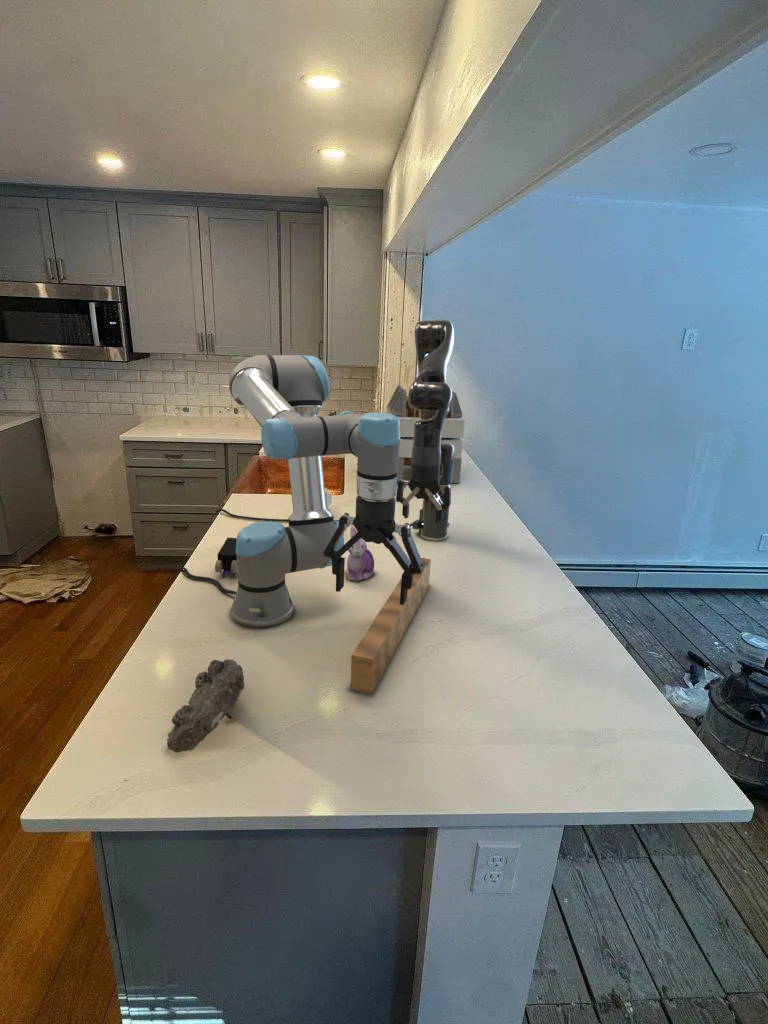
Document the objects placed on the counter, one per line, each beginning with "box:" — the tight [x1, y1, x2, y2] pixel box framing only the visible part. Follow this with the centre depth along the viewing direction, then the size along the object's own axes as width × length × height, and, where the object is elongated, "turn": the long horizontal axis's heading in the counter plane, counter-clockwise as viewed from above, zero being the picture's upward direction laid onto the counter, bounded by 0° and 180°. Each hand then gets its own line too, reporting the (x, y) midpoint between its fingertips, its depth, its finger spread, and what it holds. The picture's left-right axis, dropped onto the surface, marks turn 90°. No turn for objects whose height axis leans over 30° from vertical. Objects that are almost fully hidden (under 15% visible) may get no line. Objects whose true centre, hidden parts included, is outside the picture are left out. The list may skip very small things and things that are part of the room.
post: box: [350, 557, 432, 695], centre depth 139 cm, size 52×5×8 cm, turn 163°
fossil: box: [166, 658, 245, 754], centre depth 106 cm, size 22×10×15 cm
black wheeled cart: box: [214, 537, 237, 578], centre depth 166 cm, size 7×8×15 cm
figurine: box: [346, 526, 375, 582], centre depth 165 cm, size 9×10×15 cm
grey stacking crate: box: [385, 384, 465, 484], centre depth 268 cm, size 34×33×41 cm
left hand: (371, 595), depth 115 cm, fingers open, 13 cm apart
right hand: (421, 519), depth 151 cm, fingers open, 8 cm apart
